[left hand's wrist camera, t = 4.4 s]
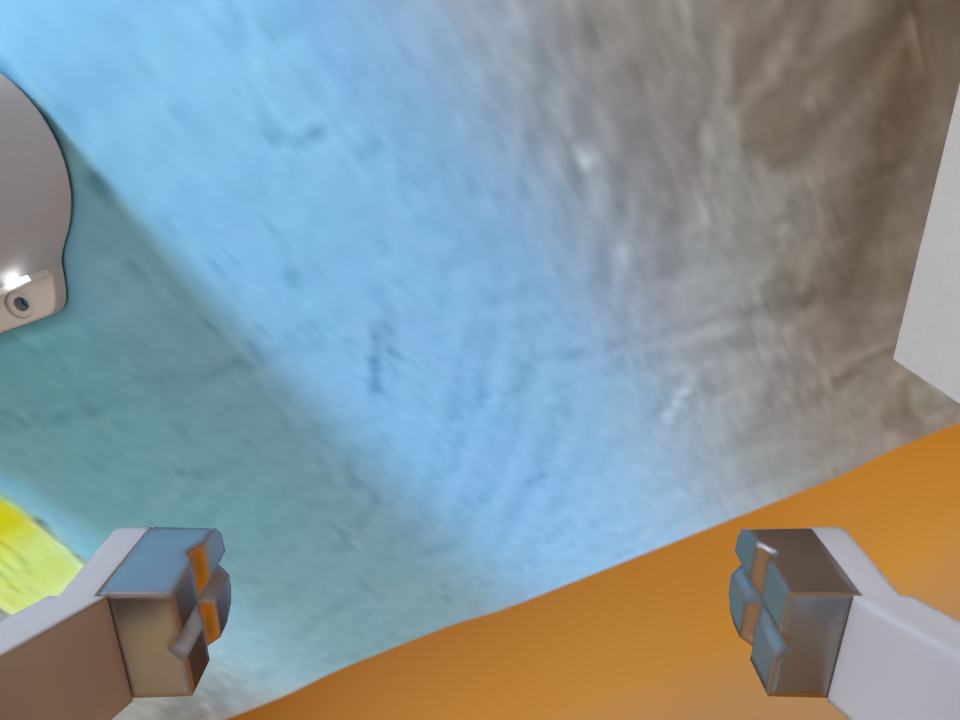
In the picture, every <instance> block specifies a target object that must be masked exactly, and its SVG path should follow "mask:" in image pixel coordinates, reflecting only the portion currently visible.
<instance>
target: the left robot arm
mask: <svg viewBox="0 0 960 720" xmlns="http://www.w3.org/2000/svg"><path fill="white" fill-rule="evenodd" d="M70 218H71V189H70V182H69V177H68V172H67V168H66V165H65V162H64V159H63V156H62V153H61V151H60V148H59V146H58V143H57V141H56V139H55V137H54V135H53V133H52V132H51V130H50V128H49V126H48V125H47V123H46V121H45V120H44V118H43V117H42V115H41V114H40V113H39V111H38V110H37V108H36V107H35V106H34V105H33V103H32V102H31V101H30V100H29V99H28V97H27V96H26V95H25V94H24V93H23V92H22V91H21V90H20V89H19V88H18V87H17V86H16V85H15V84H14V83H13V82H12V81H11V80H10V79H8V78H7V77H6V76H5V75H4V74H2V73H1V72H0V333H2V332H5V331H8V330H11V329H14V328H17V327H19V326H22V325H25V324H28V323H31V322H34V321H36V320H39V319H42V318H45V317H48V316H51V315H53V314H56V313H58V312H59V311H61V310H62V309H63V308H64V306H65V303H66V284H65V278H64V272H63V267H62V262H61V261H62V253H63V247H64V244H65V240H66V237H67V233H68V229H69V224H70ZM21 298H24V299H25V300H26V301H27V302H28V305H29V307H26V306H25V305H24V304H23V303H22V301H21ZM224 552H225V548H224V544H223V539H222V534H221V533H220V532H219V531H218V530H217V529H212V528H166V527H154V528H150V527H122V528H119V529H116V530H114V531H113V532H112V533H111V534H110V536H109V537H108V538H107V539H106V540H105V542H104V543H103V544H102V545H101V546H100V548H99V549H98V550H97V551H96V552H95V554H94V555H93V556H92V557H91V558H90V560H89V561H88V562H87V563H86V564H85V566H84V567H83V568H82V569H81V570H80V572H79V573H78V574H77V575H76V576H75V577H74V579H73V580H72V581H71V582H70V583H69V585H68V586H67V587H66V588H65V589H64V591H63V592H62V593H61V594H60V595H59V596H48V597H46V598H44V599H42V600H40V601H38V602H36V603H34V604H33V605H31V606H29V607H27V608H25V609H23V610H21V611H19V612H17V613H15V614H13V615H12V616H10V617H8V618H6V619H4V620H2V621H0V720H111V719H112V718H114V717H115V716H116V715H117V714H118V713H119V712H120V711H122V710H123V709H124V708H125V707H126V706H127V705H129V704H130V703H131V702H132V701H133V699H132V698H140V697H175V696H192V695H193V693H194V691H195V689H196V687H197V685H198V683H199V681H200V679H201V676H202V674H203V672H204V670H205V668H206V666H207V664H208V662H209V654H208V649H207V646H208V645H210V644H211V643H213V642H214V641H215V640H217V639H218V638H219V637H221V634H222V632H223V630H224V628H225V625H226V623H227V619H228V615H229V610H230V605H231V585H230V578H229V574H228V573H227V572H226V571H225V570H224V569H223V568H222V567H221V566H220V565H219V564H218V563H219V562H220V560H221V558H222V556H223V554H224ZM735 552H736V554H737V556H738V558H739V560H740V562H741V563H742V564H741V565H740V566H739V567H738V568H737V569H736V570H735V571H734V572H733V573H732V574H731V579H730V586H729V603H730V612H731V615H732V619H733V623H734V625H735V628H736V630H737V632H738V634H739V637H741V638H742V639H743V640H745V641H746V642H747V643H749V644H750V645H752V646H753V649H752V654H751V662H752V664H753V666H754V668H755V670H756V672H757V674H758V676H759V678H760V681H761V683H762V685H763V687H764V689H765V691H766V693H767V695H768V696H784V697H820V698H828V699H827V701H828V702H830V703H831V704H832V705H833V706H834V707H835V708H836V709H838V710H839V711H840V712H841V713H842V714H843V715H844V716H846V717H847V718H848V719H849V720H960V621H958V620H956V619H954V618H952V617H950V616H948V615H946V614H945V613H943V612H941V611H939V610H937V609H935V608H933V607H931V606H929V605H927V604H925V603H924V602H922V601H920V600H918V599H916V598H914V597H912V596H901V595H900V594H899V593H898V592H897V591H896V589H895V588H894V587H893V586H892V585H891V584H890V582H889V581H888V580H887V579H886V578H885V576H884V575H883V574H882V573H881V572H880V570H879V569H878V568H877V567H876V566H875V564H874V563H873V562H872V561H871V560H870V558H869V557H868V556H867V555H866V554H865V552H864V551H863V550H862V549H861V548H860V547H859V545H858V544H857V543H856V542H855V541H854V539H853V538H852V537H851V536H850V535H849V533H848V532H847V531H846V530H844V529H842V528H840V527H815V528H806V529H742V530H741V532H740V534H739V535H738V537H737V543H736V548H735Z"/></svg>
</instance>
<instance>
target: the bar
mask: <svg viewBox="0 0 960 720" xmlns="http://www.w3.org/2000/svg"><path fill="white" fill-rule="evenodd" d="M893 359H894V360H895V361H896V362H898V363H899V364H901V365H902V366H904V367H905V368H907V369H908V370H910V371H911V372H913V373H914V374H916V375H917V376H919V377H920V378H922V379H923V380H925V381H926V382H928V383H929V384H931V385H932V386H934V387H935V388H937V389H938V390H940V391H941V392H943V393H944V394H946V395H947V396H949V397H950V398H952V399H953V400H955V401H956V402H958V403H959V404H960V85H959V89H958V93H957V97H956V101H955V105H954V109H953V114H952V118H951V122H950V126H949V130H948V134H947V138H946V143H945V147H944V151H943V155H942V159H941V163H940V167H939V172H938V176H937V180H936V184H935V188H934V192H933V196H932V201H931V205H930V209H929V213H928V217H927V221H926V225H925V230H924V234H923V238H922V242H921V246H920V250H919V254H918V259H917V263H916V267H915V271H914V275H913V279H912V283H911V288H910V292H909V296H908V300H907V304H906V308H905V312H904V317H903V321H902V325H901V329H900V333H899V337H898V341H897V346H896V350H895V354H894V358H893Z"/></svg>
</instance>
